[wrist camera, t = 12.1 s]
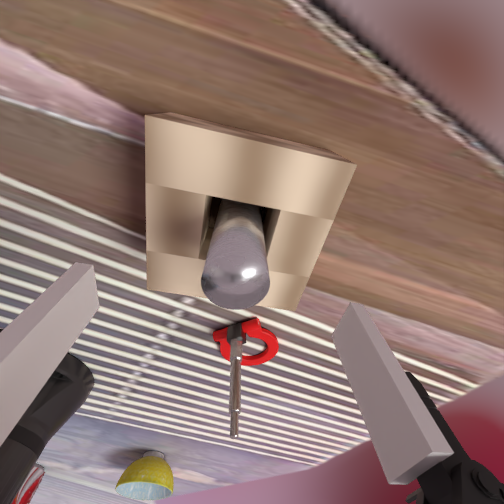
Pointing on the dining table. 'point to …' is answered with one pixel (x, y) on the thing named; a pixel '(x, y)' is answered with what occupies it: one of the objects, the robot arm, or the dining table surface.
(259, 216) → the steel pin
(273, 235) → the hitch block
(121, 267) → the dining table surface
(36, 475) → the soda can
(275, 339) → the tow hook
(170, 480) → the bowl
